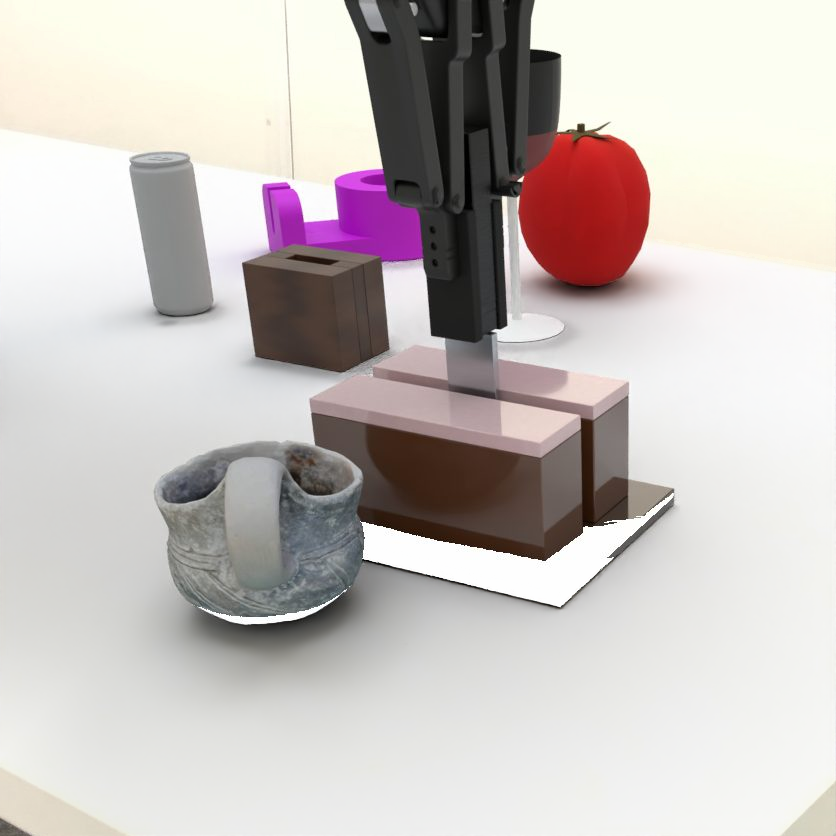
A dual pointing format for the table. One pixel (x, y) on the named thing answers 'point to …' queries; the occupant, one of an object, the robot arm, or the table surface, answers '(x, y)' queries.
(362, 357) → the knife block
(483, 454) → the cake
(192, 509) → the mug
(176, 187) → the beverage can
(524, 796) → the table surface
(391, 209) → the tape dispenser
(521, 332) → the wineglass
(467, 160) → the knife
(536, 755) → the table surface
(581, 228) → the tomato
